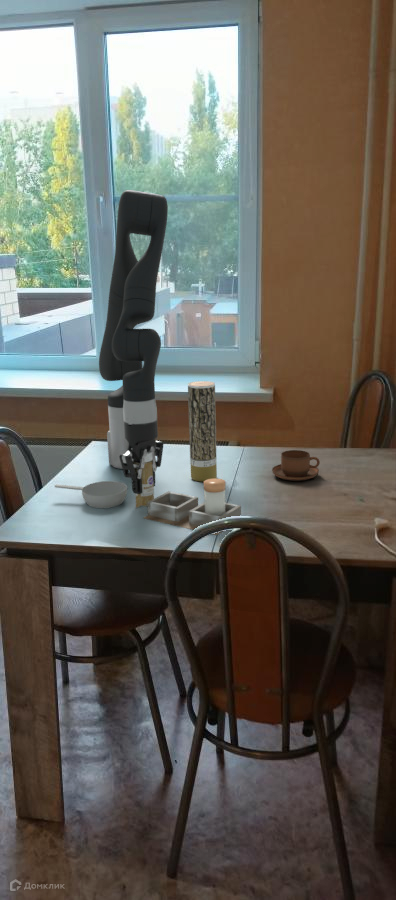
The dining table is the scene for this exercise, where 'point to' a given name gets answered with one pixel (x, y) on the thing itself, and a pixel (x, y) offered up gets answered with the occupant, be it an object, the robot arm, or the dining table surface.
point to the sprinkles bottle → (146, 482)
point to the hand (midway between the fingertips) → (144, 489)
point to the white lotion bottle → (214, 496)
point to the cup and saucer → (296, 466)
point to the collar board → (184, 511)
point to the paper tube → (202, 430)
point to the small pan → (101, 493)
